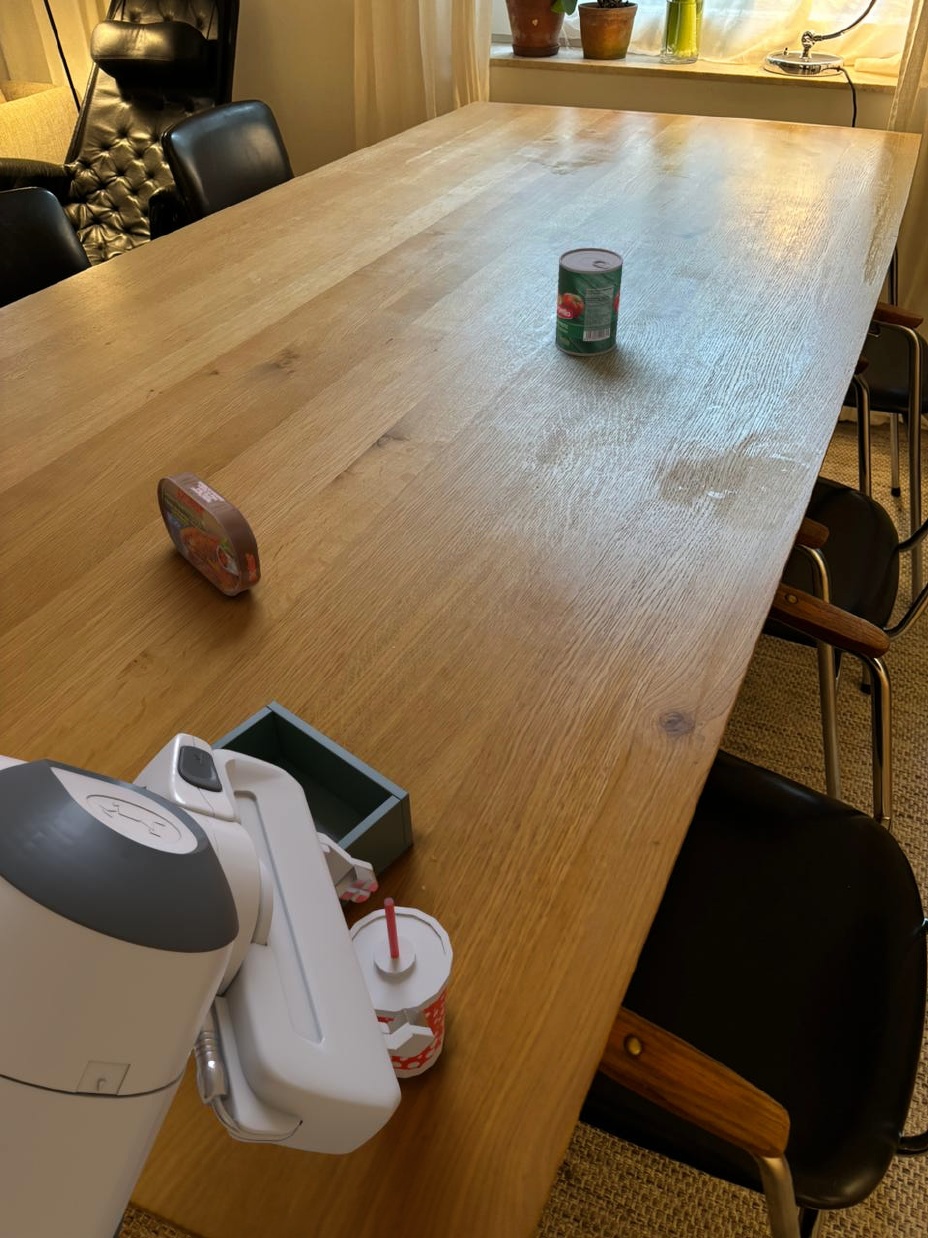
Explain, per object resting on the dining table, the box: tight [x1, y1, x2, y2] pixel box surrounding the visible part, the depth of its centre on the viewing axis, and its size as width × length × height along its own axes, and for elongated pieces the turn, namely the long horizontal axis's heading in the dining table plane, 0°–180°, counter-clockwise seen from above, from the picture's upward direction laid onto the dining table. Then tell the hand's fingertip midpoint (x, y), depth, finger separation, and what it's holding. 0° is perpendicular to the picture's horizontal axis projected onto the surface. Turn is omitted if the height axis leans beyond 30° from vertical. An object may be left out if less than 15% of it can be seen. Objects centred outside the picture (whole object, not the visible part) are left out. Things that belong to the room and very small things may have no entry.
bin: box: [209, 700, 414, 909], centre depth 67 cm, size 14×14×5 cm
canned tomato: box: [554, 247, 624, 357], centre depth 125 cm, size 8×8×11 cm
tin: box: [156, 471, 262, 597], centre depth 91 cm, size 15×3×8 cm, turn 40°
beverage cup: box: [349, 897, 454, 1079], centre depth 54 cm, size 6×6×14 cm
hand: (393, 954), depth 53 cm, fingers open, 8 cm apart
